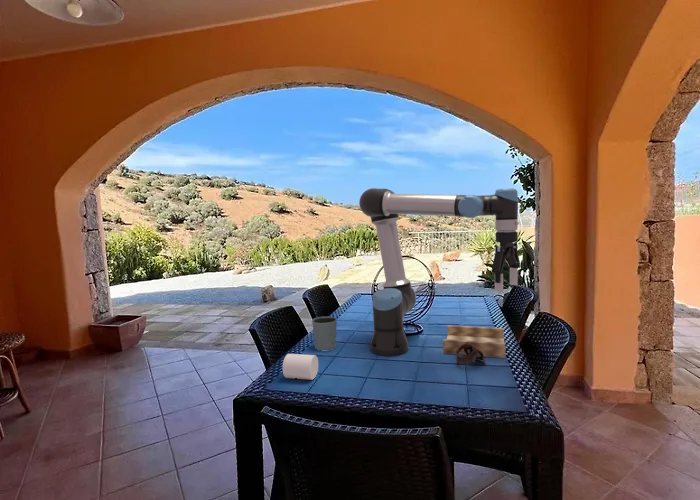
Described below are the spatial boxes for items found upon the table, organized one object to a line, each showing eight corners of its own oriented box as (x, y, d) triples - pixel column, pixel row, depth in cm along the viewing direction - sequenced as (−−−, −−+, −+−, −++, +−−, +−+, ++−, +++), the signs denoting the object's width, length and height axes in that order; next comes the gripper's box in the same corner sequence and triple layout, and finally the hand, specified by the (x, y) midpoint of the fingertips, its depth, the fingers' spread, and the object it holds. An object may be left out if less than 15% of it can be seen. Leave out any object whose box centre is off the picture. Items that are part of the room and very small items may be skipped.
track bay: (443, 353, 144) (442, 340, 143) (448, 336, 162) (447, 325, 161) (505, 357, 136) (505, 344, 136) (503, 340, 154) (503, 328, 153)
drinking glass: (308, 348, 156) (306, 320, 155) (326, 341, 164) (324, 314, 162) (325, 354, 149) (323, 324, 148) (343, 346, 157) (341, 318, 156)
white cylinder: (310, 384, 124) (309, 360, 123) (283, 381, 127) (281, 359, 126) (323, 368, 136) (321, 347, 135) (297, 367, 138) (296, 346, 138)
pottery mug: (491, 370, 128) (481, 352, 126) (465, 380, 130) (455, 363, 128) (481, 348, 140) (472, 332, 137) (458, 359, 142) (448, 342, 139)
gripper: (502, 233, 127) (502, 295, 129) (529, 228, 145) (529, 283, 147) (481, 233, 132) (481, 293, 135) (509, 228, 150) (509, 281, 152)
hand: (506, 288), depth 141 cm, fingers open, 13 cm apart
